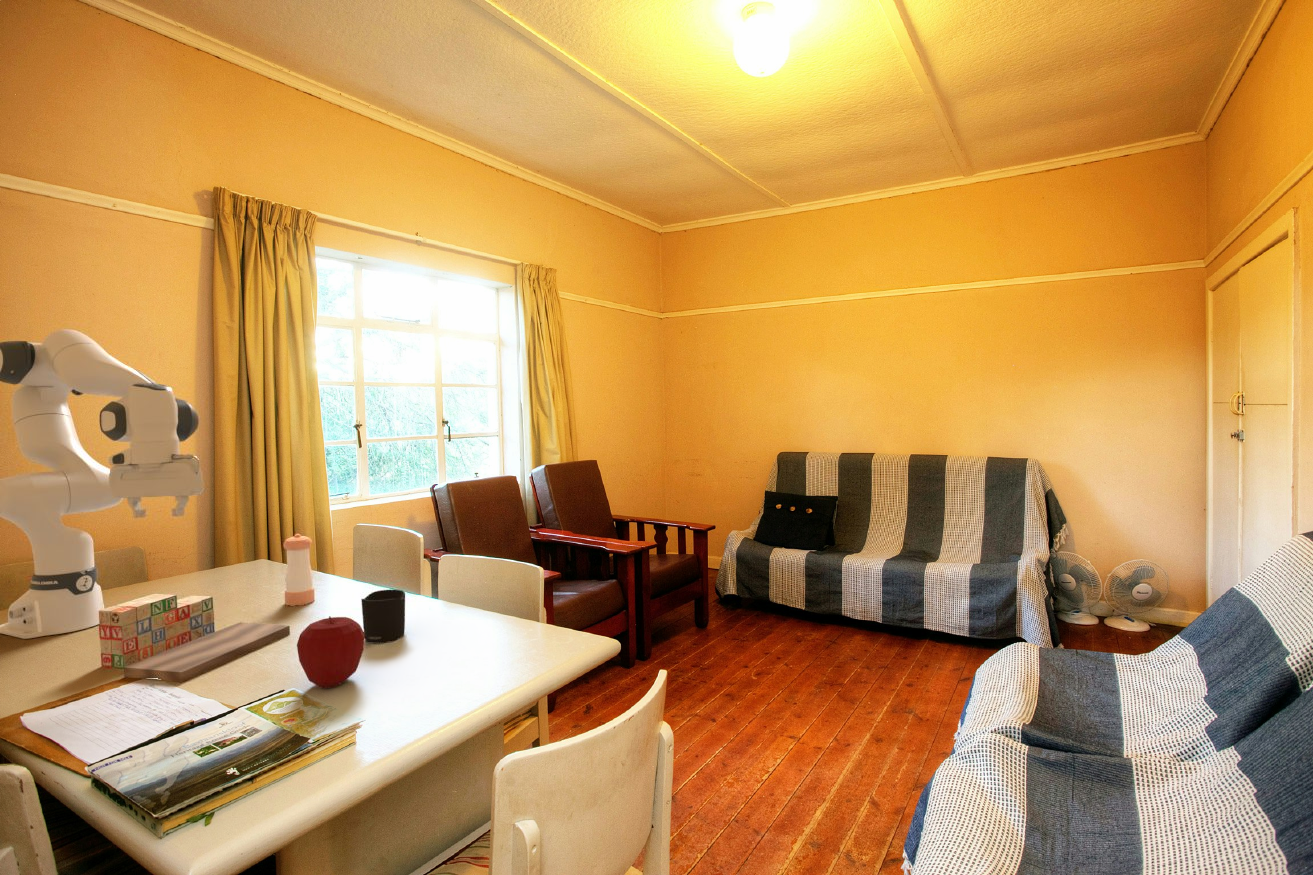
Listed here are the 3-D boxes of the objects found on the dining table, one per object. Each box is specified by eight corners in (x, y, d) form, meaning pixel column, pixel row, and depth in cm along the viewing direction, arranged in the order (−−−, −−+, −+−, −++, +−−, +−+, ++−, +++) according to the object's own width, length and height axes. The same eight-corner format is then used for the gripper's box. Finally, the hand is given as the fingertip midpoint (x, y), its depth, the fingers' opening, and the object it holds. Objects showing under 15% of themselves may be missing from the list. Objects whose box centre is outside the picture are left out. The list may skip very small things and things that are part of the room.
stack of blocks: (194, 632, 157) (192, 582, 157) (215, 634, 156) (213, 583, 155) (100, 667, 136) (97, 609, 136) (123, 669, 135) (121, 611, 134)
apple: (361, 691, 122) (358, 622, 122) (291, 700, 119) (289, 628, 118) (369, 667, 134) (367, 603, 133) (306, 675, 130) (304, 609, 130)
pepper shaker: (306, 596, 186) (304, 530, 185) (319, 601, 182) (317, 533, 181) (280, 603, 180) (277, 534, 179) (292, 607, 176) (290, 537, 175)
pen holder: (355, 637, 152) (354, 595, 151) (395, 627, 159) (393, 587, 158) (373, 647, 145) (372, 603, 145) (413, 636, 152) (412, 594, 152)
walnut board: (124, 676, 131) (123, 667, 131) (240, 630, 158) (239, 622, 158) (181, 682, 128) (181, 672, 128) (289, 633, 155) (289, 625, 155)
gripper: (209, 452, 148) (212, 513, 148) (127, 456, 150) (130, 516, 150) (186, 454, 141) (190, 517, 142) (101, 457, 143) (105, 520, 144)
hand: (159, 516), depth 146 cm, fingers open, 8 cm apart
